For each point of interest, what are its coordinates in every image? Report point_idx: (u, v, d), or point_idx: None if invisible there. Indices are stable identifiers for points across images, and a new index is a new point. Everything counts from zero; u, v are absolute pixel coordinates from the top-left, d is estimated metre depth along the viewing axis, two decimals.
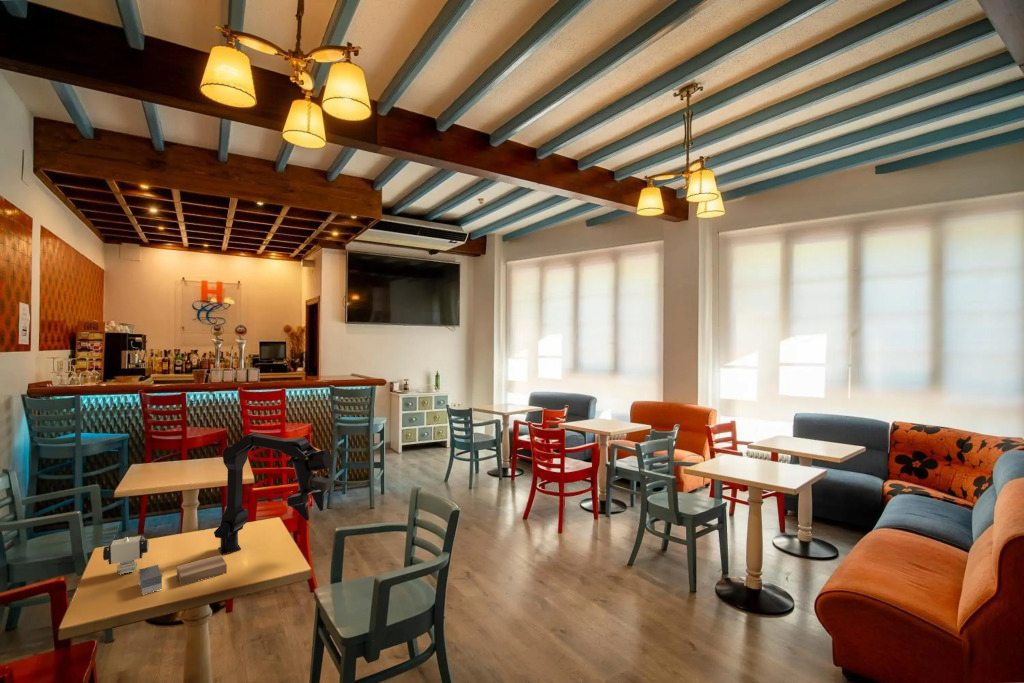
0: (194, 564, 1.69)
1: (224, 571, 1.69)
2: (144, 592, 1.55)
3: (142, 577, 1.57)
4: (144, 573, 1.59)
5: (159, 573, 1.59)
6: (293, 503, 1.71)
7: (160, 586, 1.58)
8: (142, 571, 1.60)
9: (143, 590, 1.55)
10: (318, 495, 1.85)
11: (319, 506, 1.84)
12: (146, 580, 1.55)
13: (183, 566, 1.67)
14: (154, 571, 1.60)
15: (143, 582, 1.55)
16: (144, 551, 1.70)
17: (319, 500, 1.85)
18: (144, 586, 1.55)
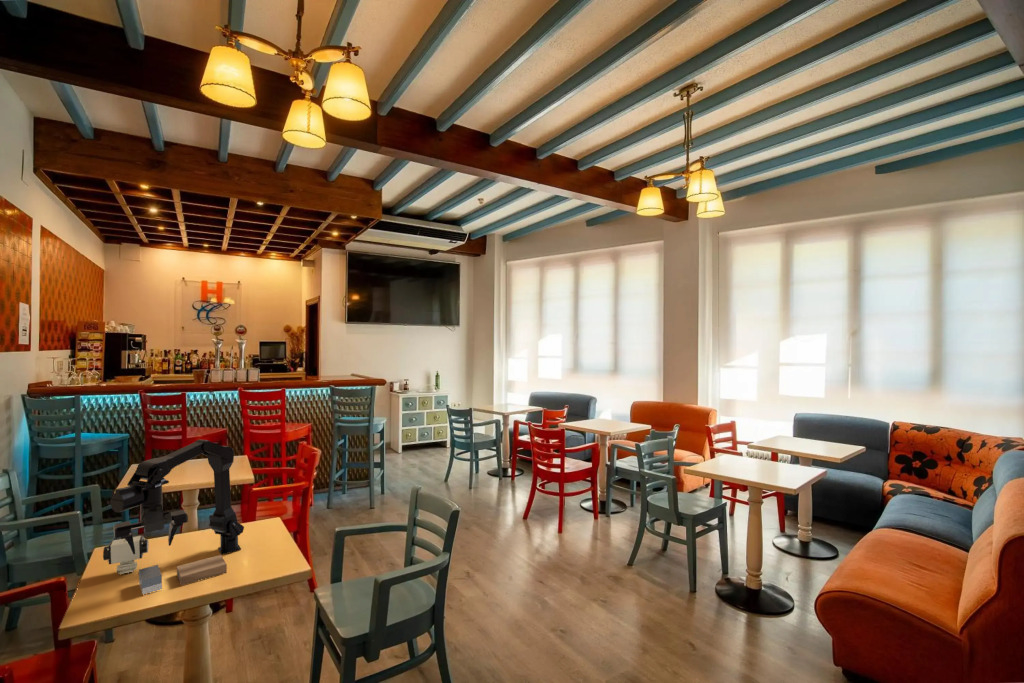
0: (194, 564, 1.69)
1: (224, 571, 1.69)
2: (144, 592, 1.55)
3: (142, 577, 1.56)
4: (144, 573, 1.59)
5: (159, 573, 1.59)
6: (114, 532, 1.52)
7: (160, 586, 1.58)
8: (142, 571, 1.60)
9: (143, 590, 1.55)
10: (170, 527, 1.62)
11: (168, 539, 1.62)
12: (146, 580, 1.55)
13: (183, 566, 1.67)
14: (154, 571, 1.60)
15: (143, 582, 1.55)
16: (144, 551, 1.70)
17: (170, 533, 1.62)
18: (144, 586, 1.55)
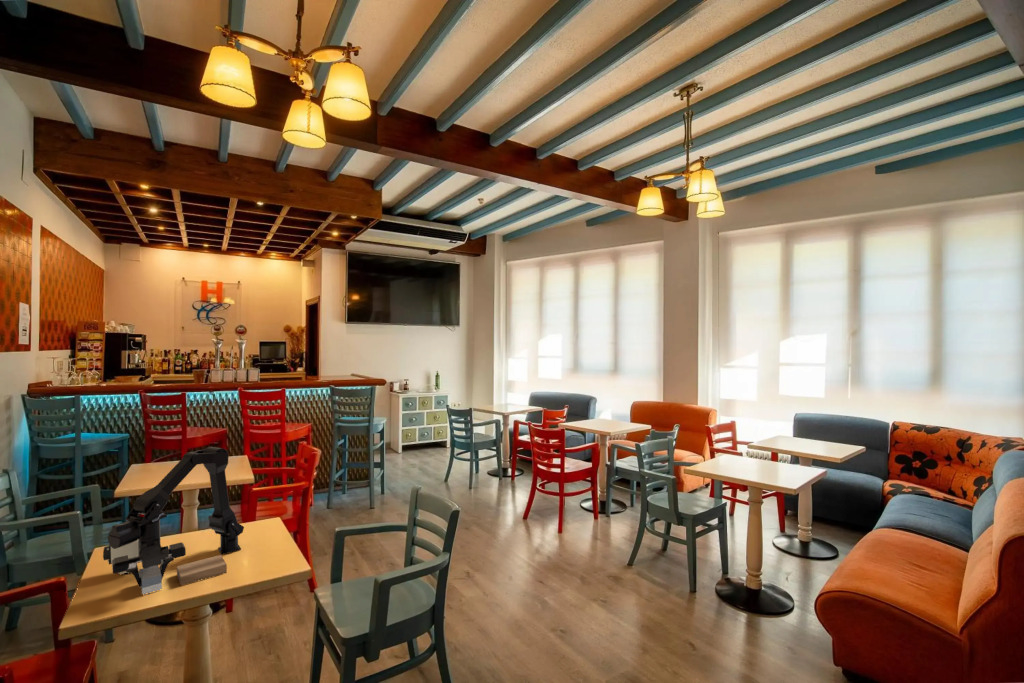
0: (194, 564, 1.69)
1: (224, 571, 1.69)
2: (144, 592, 1.55)
3: (142, 577, 1.56)
4: (144, 573, 1.59)
5: (159, 573, 1.59)
6: (112, 567, 1.54)
7: (160, 586, 1.58)
8: (142, 571, 1.60)
9: (143, 590, 1.55)
10: (161, 563, 1.62)
11: None
12: (146, 580, 1.55)
13: (183, 566, 1.67)
14: (154, 571, 1.60)
15: (143, 582, 1.55)
16: None
17: (161, 568, 1.62)
18: (144, 586, 1.55)
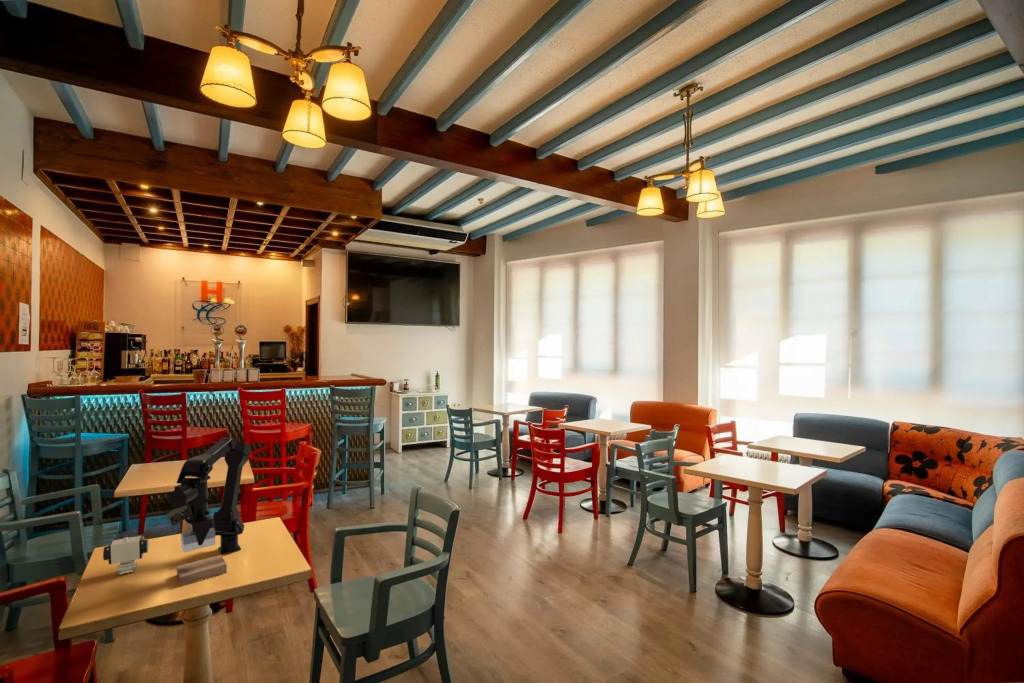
0: (194, 564, 1.69)
1: (224, 571, 1.69)
2: (181, 544, 1.66)
3: (188, 531, 1.67)
4: None
5: (189, 535, 1.64)
6: None
7: (183, 547, 1.63)
8: None
9: (181, 542, 1.66)
10: None
11: None
12: (181, 534, 1.65)
13: (183, 566, 1.67)
14: None
15: (181, 535, 1.66)
16: (144, 551, 1.70)
17: None
18: (181, 539, 1.66)
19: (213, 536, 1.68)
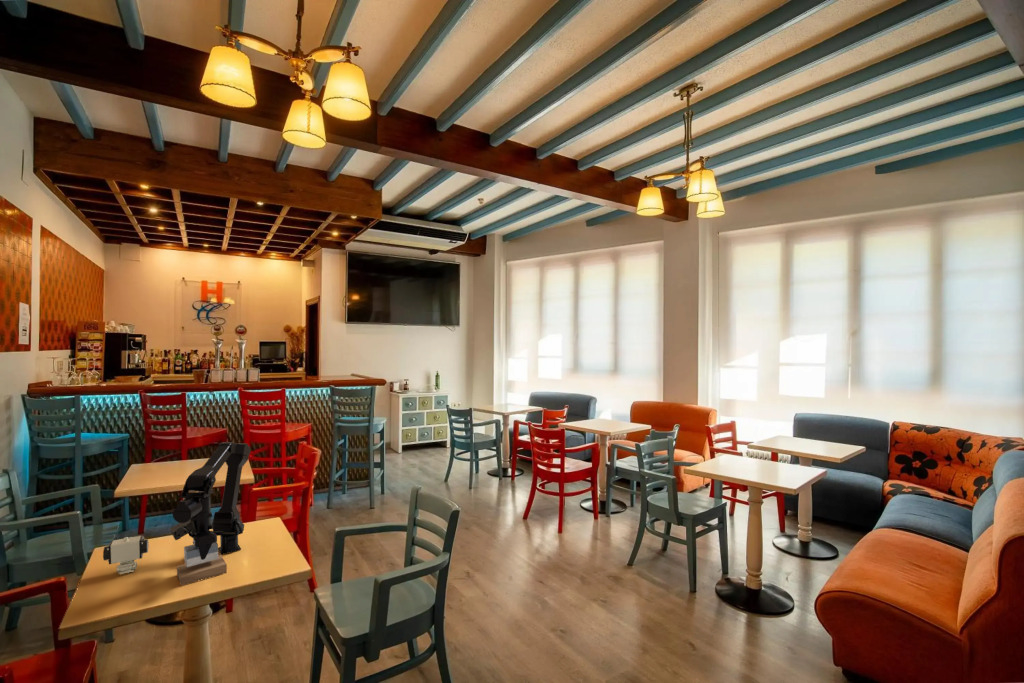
0: None
1: (224, 571, 1.69)
2: (184, 559, 1.67)
3: (191, 545, 1.68)
4: None
5: (192, 550, 1.64)
6: None
7: (186, 562, 1.63)
8: None
9: (184, 556, 1.67)
10: None
11: None
12: (184, 549, 1.66)
13: (183, 566, 1.67)
14: None
15: (184, 549, 1.67)
16: (144, 551, 1.70)
17: None
18: (184, 553, 1.66)
19: (216, 550, 1.69)
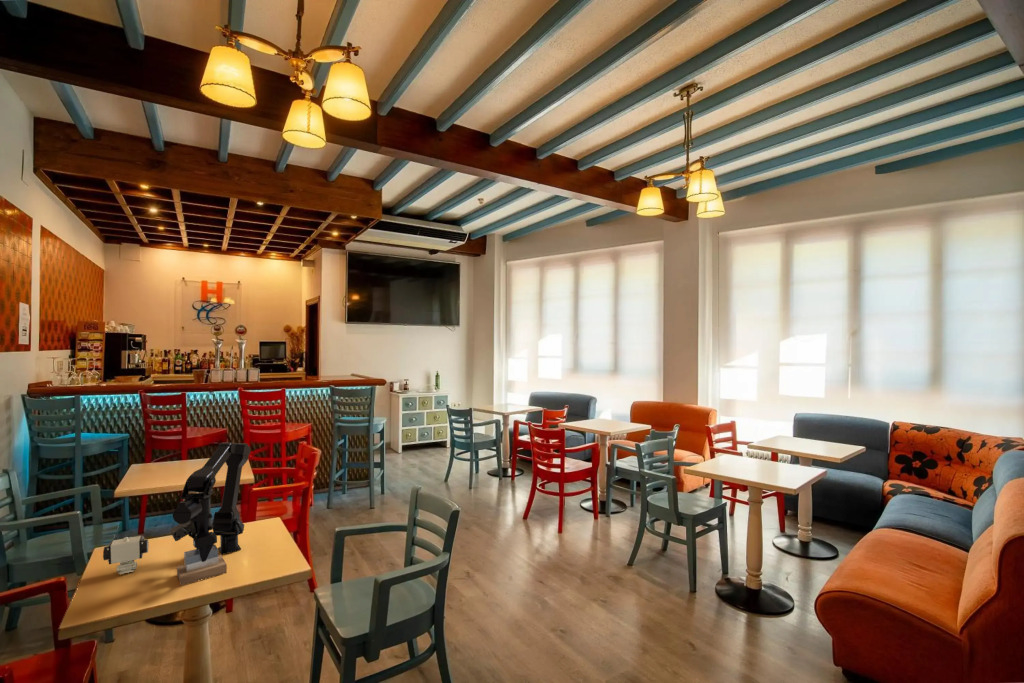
0: None
1: (224, 571, 1.69)
2: (184, 564, 1.67)
3: (192, 550, 1.68)
4: None
5: (192, 555, 1.65)
6: None
7: (186, 567, 1.64)
8: None
9: (184, 561, 1.67)
10: None
11: None
12: (184, 554, 1.66)
13: (183, 566, 1.67)
14: None
15: (184, 554, 1.67)
16: (144, 551, 1.70)
17: None
18: (184, 558, 1.67)
19: (216, 555, 1.69)
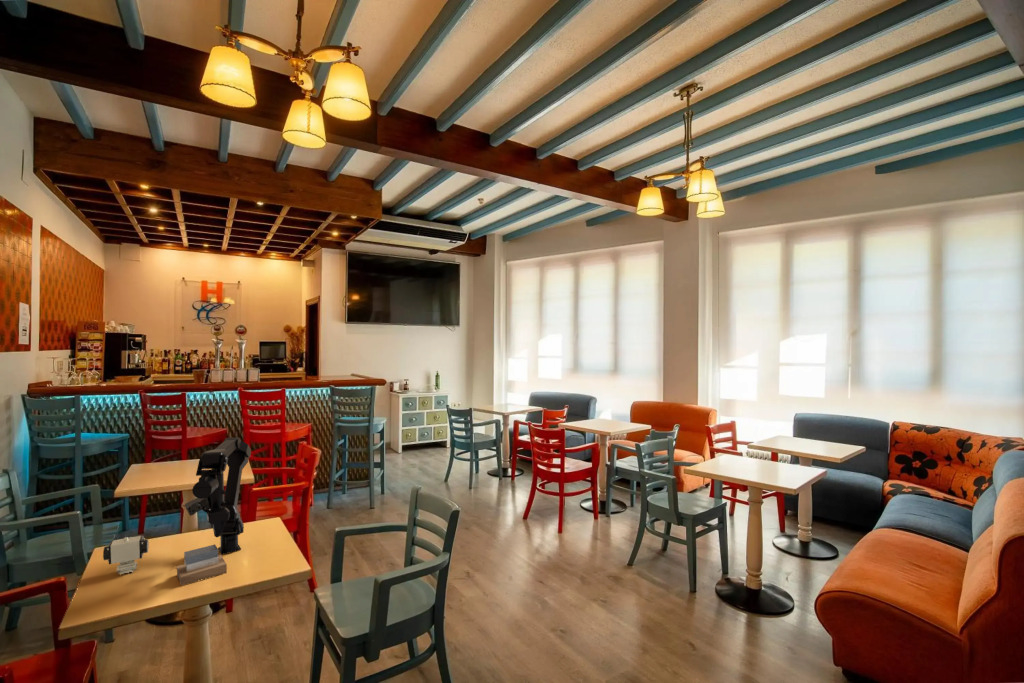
0: None
1: (224, 571, 1.69)
2: (184, 564, 1.67)
3: (192, 550, 1.68)
4: (200, 549, 1.69)
5: (192, 555, 1.65)
6: None
7: (186, 567, 1.64)
8: (206, 547, 1.71)
9: (184, 561, 1.67)
10: None
11: None
12: (184, 554, 1.66)
13: (183, 566, 1.67)
14: (200, 552, 1.67)
15: (184, 554, 1.67)
16: (144, 551, 1.70)
17: None
18: (184, 558, 1.67)
19: (216, 555, 1.69)
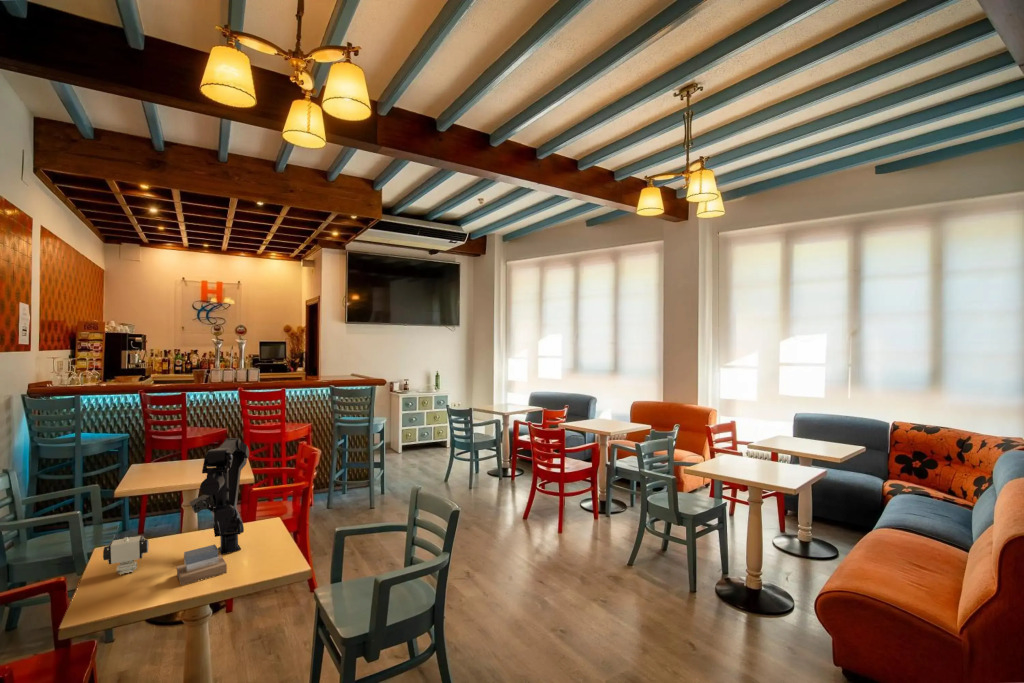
0: None
1: (224, 571, 1.69)
2: (184, 564, 1.67)
3: (192, 550, 1.68)
4: (200, 549, 1.69)
5: (192, 555, 1.65)
6: None
7: (186, 567, 1.64)
8: (206, 547, 1.71)
9: (184, 561, 1.67)
10: None
11: None
12: (184, 554, 1.66)
13: (183, 566, 1.67)
14: (200, 552, 1.67)
15: (184, 554, 1.67)
16: (144, 551, 1.70)
17: None
18: (184, 558, 1.67)
19: (216, 555, 1.69)
